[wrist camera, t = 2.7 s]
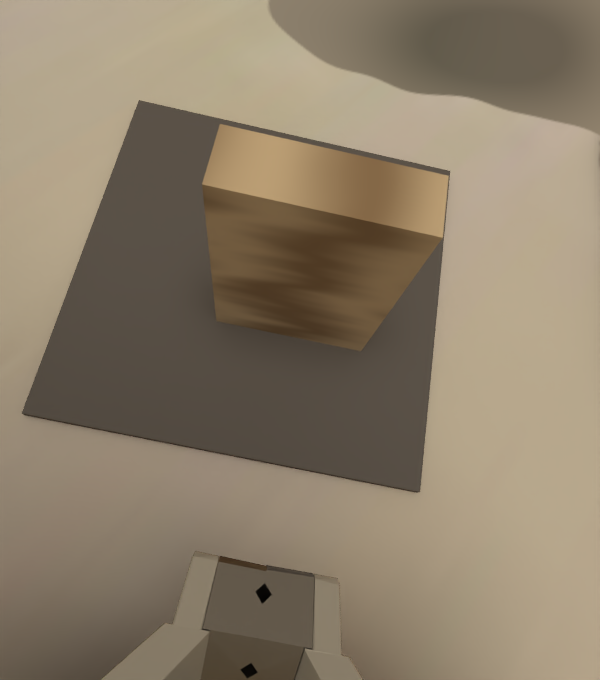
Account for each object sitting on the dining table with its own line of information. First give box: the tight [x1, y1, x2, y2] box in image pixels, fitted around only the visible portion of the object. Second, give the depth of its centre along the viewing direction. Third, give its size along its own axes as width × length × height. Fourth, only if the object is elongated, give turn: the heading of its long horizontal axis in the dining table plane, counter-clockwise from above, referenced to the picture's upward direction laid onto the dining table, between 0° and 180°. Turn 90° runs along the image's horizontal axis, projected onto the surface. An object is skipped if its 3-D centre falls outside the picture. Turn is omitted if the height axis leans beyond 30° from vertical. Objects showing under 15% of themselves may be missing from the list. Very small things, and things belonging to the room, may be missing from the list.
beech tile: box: [202, 124, 449, 351], centre depth 23 cm, size 8×2×12 cm, turn 80°
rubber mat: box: [22, 100, 450, 492], centre depth 29 cm, size 20×20×1 cm
